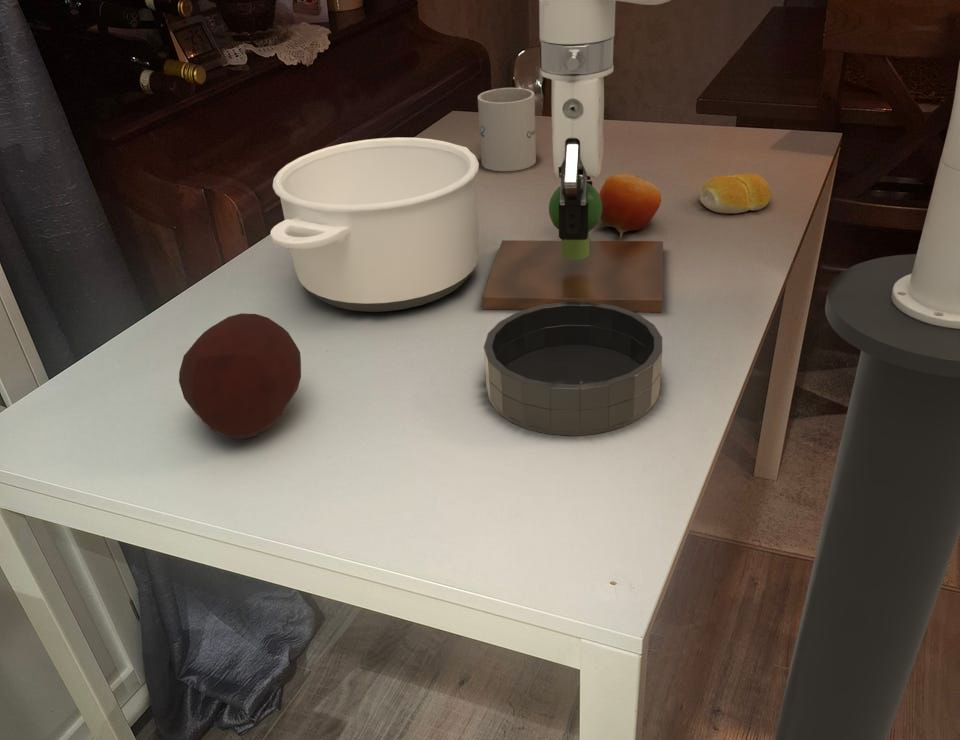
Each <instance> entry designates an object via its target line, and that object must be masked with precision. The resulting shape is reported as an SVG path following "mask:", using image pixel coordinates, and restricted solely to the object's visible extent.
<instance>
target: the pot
mask: <svg viewBox="0 0 960 740" xmlns="http://www.w3.org/2000/svg"><path fill="white" fill-rule="evenodd" d="M479 167H480V163H479V161H478V157H477V156H476V155H475V154H474V153H473V152H472V151H470V149H469V148H468V147H466V146H462V145H460V144H456V143H451V142H448V141H445V140H438V139H433V138H422V137H380V138H370V139H362V140H356V141H351V142H344V143H340V144H335V145H332V146H327V147H324V148H321V149H317V150H315V151H312V152H309V153H307V154H304V155H302V156H299V157H297V158H296V159H294V160H292V161H291V162H288V163H287V164H285V165H284V166H283V167H282V168H280V169H279V170H278V171H277V173H276V174H275V176H274V177H273V181H272V189H273V191H274V193H275V195H277V197H279V199H280V204H281V209H282V213H283V219H284V220H282V221H281V222H278V223H277V224H275V225H274V226H273V227H272V228H271V230H270V234H269V236H270V240H271V241H272V243H273V244H275V245H277V246H278V247H281V248H286V249H290V254H291V259H292V264H293V269H294V271H295V274H296V276H297V279H298V281H299V282H300V285H302V287H304V289H306V290H307V291H308V293H310V294H311V295H312V296H313V297H315V298H316V299H319V300H320V301H321V302H324V303H326V304H328V305H329V306H333V307H336V308H340V309H343V310H349V311H355V312H369V313H378V312H379V313H380V312H391V311H400V310H401V311H402V310H407V309H411V308H415V307H420V306H424V305H426V304H429V303H432V302H435V301H438V300H440V299H442V298H445V297H446V296H447V295H449V294H451V293H452V292H454V291H455V290H457V289H458V288H459V287H461V286H462V284H464V283H465V282H466V281H467V280H468V279H469V278H470V276H471V275H472V273H473V271H474V270H475V268H476V266H477V264H478V262H479V256H480V255H479V254H480V235H479V219H478V205H477V192H476V175H477V174H478V172H479V169H480V168H479Z"/></svg>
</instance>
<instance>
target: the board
mask: <svg viewBox="0 0 960 740" xmlns="http://www.w3.org/2000/svg"><path fill="white" fill-rule="evenodd" d="M663 271H664V241H663V240H589V256H588V257H586V258H584V259H580V260H569V259H566V258H564V257H563V256H562V241H561V240H527V239H526V240H520V239H519V240H512V239H511V240H508V239H507V240H505V239H504V240H501V243H500V245H499V248H498V250H497V253H496V257H495V259H494V262H493V265H492V267H491V271H490V273H489V277H488V279H487V282H486V284H485V288H484V290H483V293H482V296H481V304H482V309H483V310H508V311H509V310H516V311H517V310H519V311H523V310H526V309H529V308H533V307H536V306H539V305H545V304H553V303H560V302H595V303H601V304H607V305H613V306H617V307H620V308H623V309H626V310H629V311H631V312H634V313H662V312H663V300H664V298H663V296H664V294H663V293H664V290H663V289H664V277H663V276H664V272H663Z"/></svg>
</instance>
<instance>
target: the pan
mask: <svg viewBox="0 0 960 740" xmlns="http://www.w3.org/2000/svg"><path fill="white" fill-rule="evenodd" d="M483 357H484V371H485V373H484V375H485V387H486V390H487V397H488V400H489V402H490V404H491V405H492V407H493V409H494V410H495V411H496V412H497V413H498V414H499V415H500V416H502V417H503V418H504V419H506V420H507V421H509V422H511V423H512V424H514V425H516V426H519V427H520V428H523V429H525V430H529V431H533V432H537V433H540V434H541V433H542V434H547V435H553V436H554V435H555V436H564V437H565V436H569V437H570V436H572V437H573V436H574V437H575V436H576V437H577V436H589V435H596V434H604V433H607V432H610V431H611V432H612V431H614V430H618V429H621V428H624V427H627V426H628V425H630V424H633V423H634V422H636V421H637V420H639V419H641V418H642V417H644V416H645V415H646V414H647V413H648V412H649V411H650V410H651V409H652V408H653V407H654V405H655V404H656V402H657V400H658V397H659V394H660V391H661V375H662V363H663V362H662V361H663V336H662V335H661V333H660V332H659V330H658V328H657V327H656V325H655V324H654V323H652V322H651V321H649V320H648V319H646V318H644V316H642V315H640V314H639V313H638V312H631V311H629V310H626V309H623V308H620V307H617V306H613V305H607V304H601V303H595V302H560V303H553V304H545V305H539V306H536V307H533V308H529V309H526V310H519V311H517V312H515V313H513V314H511V315H510V316H507V317H506V318H504V319H502V320H500V321H499V322H497V324H495V326H493V328H491V329H490V331H489V332H488V333H487V336H486V338H485V342H484V345H483Z"/></svg>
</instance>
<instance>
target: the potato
mask: <svg viewBox="0 0 960 740" xmlns="http://www.w3.org/2000/svg"><path fill="white" fill-rule="evenodd" d="M301 361H302V360H301V351H300V349H299V348H298V345H297V344H296V342H295V341H294V339H293V338H292V336H291V334H290V333H289V331H287V330H286V329H285V328H284V327H283V326H281V325H280V324H278V323H277V322H275V321H274V320H273V319H271V318H269V317H268V316H265V315H261V314H259V313H258V314H257V313H243V312H242V313H238V314H234V315H229V316H227V317H226V318H224V319H222V320H221V321H219V322H217V323H215V324H214V325H212V326H210V327H209V328H208V329H207V330H205V331H204V332H203V333H202V334H201V335H200V336H199V337H198V338H197V339H196V340H195V341H194V343H193V344H191V346H190V347H189V349H188V350H187V351H186V352H185V354H183V357H182V360H181V365H180V368H179V372H178V383H179V386H180V389H181V390H180V391H181V393H182V396H183V399H184V400H185V402H186V403H187V404H188V406H189V407H190V408H191V409H192V411H193V412H194V413H195V414H196V416H197V417H198V418H199V419H200V420H201V421H202V422H203V423H204V424H205V425H206V426H207V427H209V428H210V429H211V431H214V432H216V433H218V434H220V435H223V436H224V437H226V438H230V439H240V440H244V439H248V438H251V437H256V436H257V435H259V434H261V433H262V432H264V431H267V430H268V429H269V428H270V427H271V426H272V425H273V424H274V423H275V422H277V420H278V419H279V418H280V417H281V416H282V415H283V413H284V411H285V410H286V408H287V407H288V405H289V403H290V402H291V400H292V398H293V397H294V395H295V394H296V392H297V391H298V389H299V385H300V382H301V378H302V362H301Z"/></svg>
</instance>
